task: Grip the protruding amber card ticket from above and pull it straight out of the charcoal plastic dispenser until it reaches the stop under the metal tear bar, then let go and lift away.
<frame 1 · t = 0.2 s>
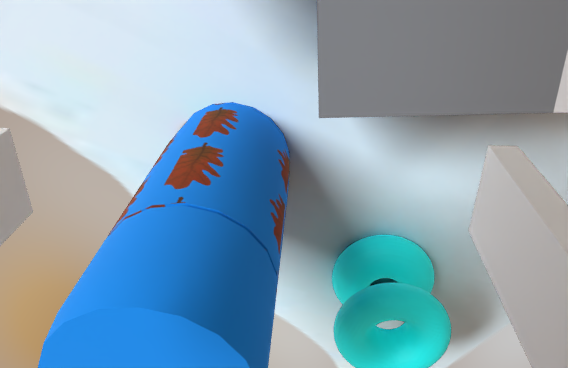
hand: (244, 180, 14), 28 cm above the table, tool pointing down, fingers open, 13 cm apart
thermos: (233, 155, 45), on the table
turquoise hourglass spool: (380, 267, 50), on the table
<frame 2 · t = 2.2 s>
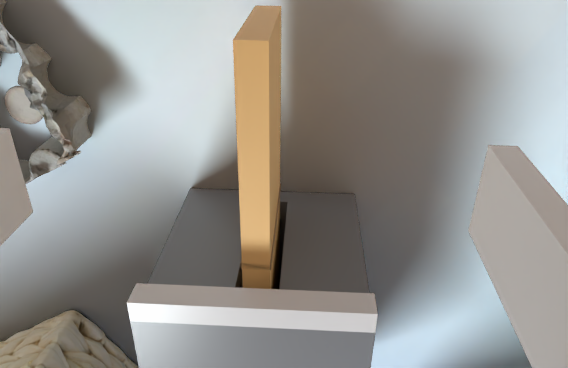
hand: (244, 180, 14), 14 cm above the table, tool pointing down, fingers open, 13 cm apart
egg carton: (5, 79, 28), on the table
dispenser: (272, 281, 33), on the table
ticket: (263, 245, 25), point 6 cm above the table, slide at 0.0 cm
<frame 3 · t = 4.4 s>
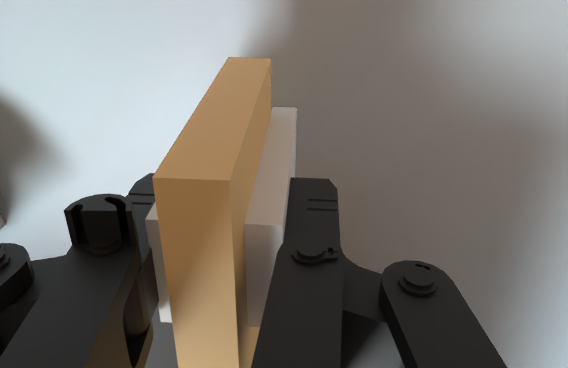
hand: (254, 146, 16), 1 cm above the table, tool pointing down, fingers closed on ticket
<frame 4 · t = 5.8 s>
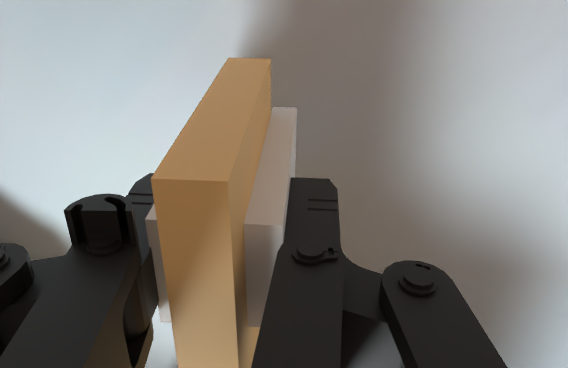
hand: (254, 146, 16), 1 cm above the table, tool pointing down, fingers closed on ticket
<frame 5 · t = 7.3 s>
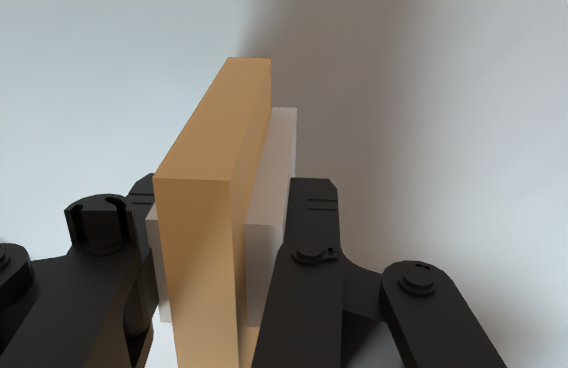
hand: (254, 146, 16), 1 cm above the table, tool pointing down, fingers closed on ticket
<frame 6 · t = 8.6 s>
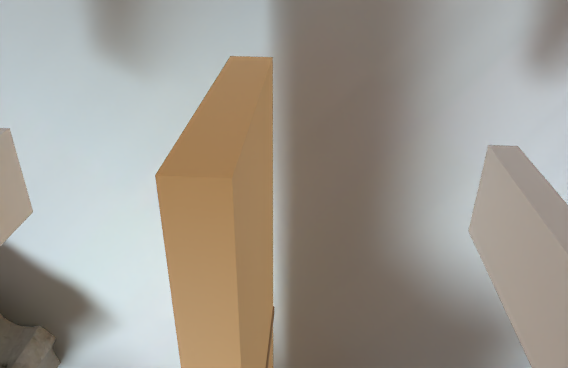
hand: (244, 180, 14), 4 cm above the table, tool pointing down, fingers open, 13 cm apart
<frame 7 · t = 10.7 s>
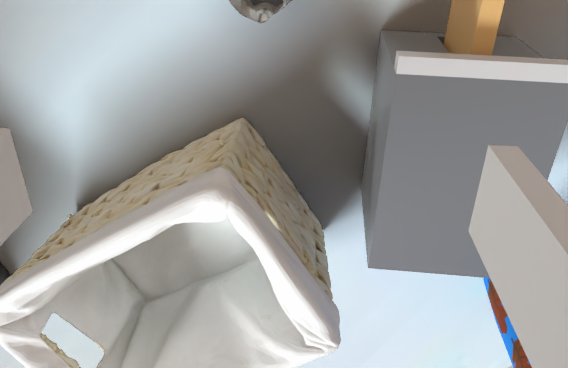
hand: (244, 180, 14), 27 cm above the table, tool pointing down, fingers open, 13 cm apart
thermos: (539, 272, 47), on the table
dispenser: (431, 119, 40), on the table
storage basket: (200, 221, 48), on the table
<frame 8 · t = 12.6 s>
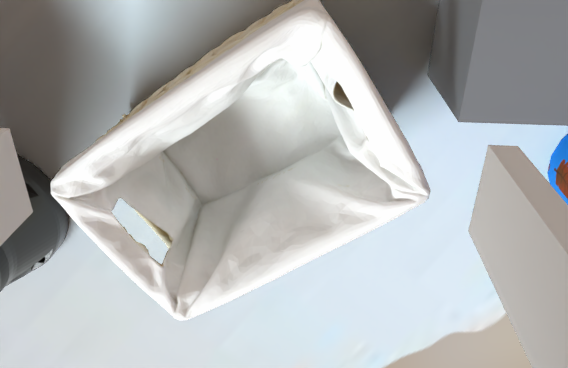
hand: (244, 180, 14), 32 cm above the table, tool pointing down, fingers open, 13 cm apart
storage basket: (257, 117, 47), on the table
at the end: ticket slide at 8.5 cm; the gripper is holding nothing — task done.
